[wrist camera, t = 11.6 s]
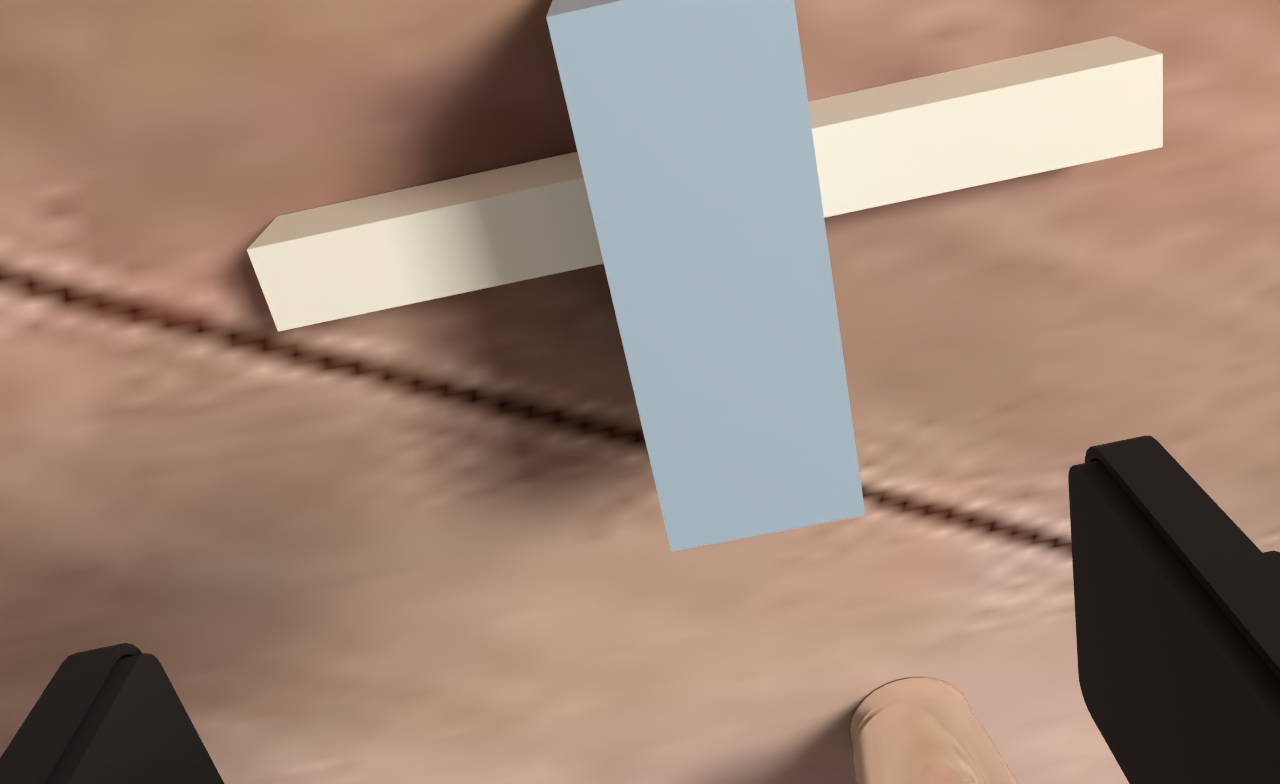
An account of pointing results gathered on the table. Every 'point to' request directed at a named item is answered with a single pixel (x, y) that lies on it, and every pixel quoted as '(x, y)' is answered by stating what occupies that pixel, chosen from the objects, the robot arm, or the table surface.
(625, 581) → the table surface
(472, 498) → the table surface
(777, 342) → the grey-blue plate
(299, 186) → the table surface
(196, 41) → the table surface
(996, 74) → the rail
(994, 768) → the cup with straw
